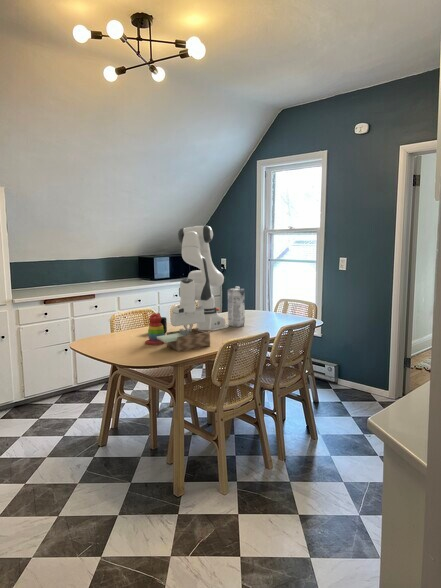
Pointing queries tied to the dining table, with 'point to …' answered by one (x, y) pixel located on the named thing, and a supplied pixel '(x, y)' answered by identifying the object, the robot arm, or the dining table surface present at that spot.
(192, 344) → the walnut box
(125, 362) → the dining table surface
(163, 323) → the black flat block
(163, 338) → the cover plate
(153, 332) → the stacking bear
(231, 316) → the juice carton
